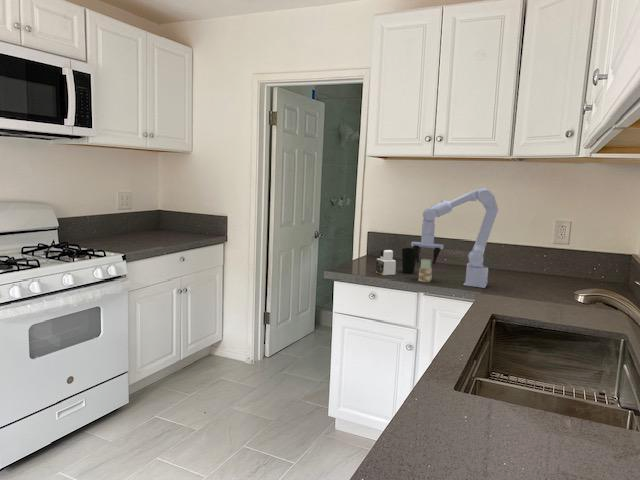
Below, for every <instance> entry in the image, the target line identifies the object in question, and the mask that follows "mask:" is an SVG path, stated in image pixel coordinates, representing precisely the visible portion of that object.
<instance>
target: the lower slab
mask: <svg viewBox="0 0 640 480" xmlns="http://www.w3.org/2000/svg"><path fill="white" fill-rule="evenodd" d="M432 274H433V273H432ZM432 274H431V275H430V276H424V275H419V274H418V282H425V283H430V282H431V281H432V277H433V275H432Z"/></svg>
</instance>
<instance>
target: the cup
mask: <svg viewBox="0 0 640 480" xmlns="http://www.w3.org/2000/svg"><path fill="white" fill-rule="evenodd" d="M401 257H402V258H401V259H402V260H401V261H402V273H403V274H409V275H412V274H414V273H415V267H416V263H417V261H416V255H415V252H414V250H413V247H405V248H404V247H403V248H401Z"/></svg>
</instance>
